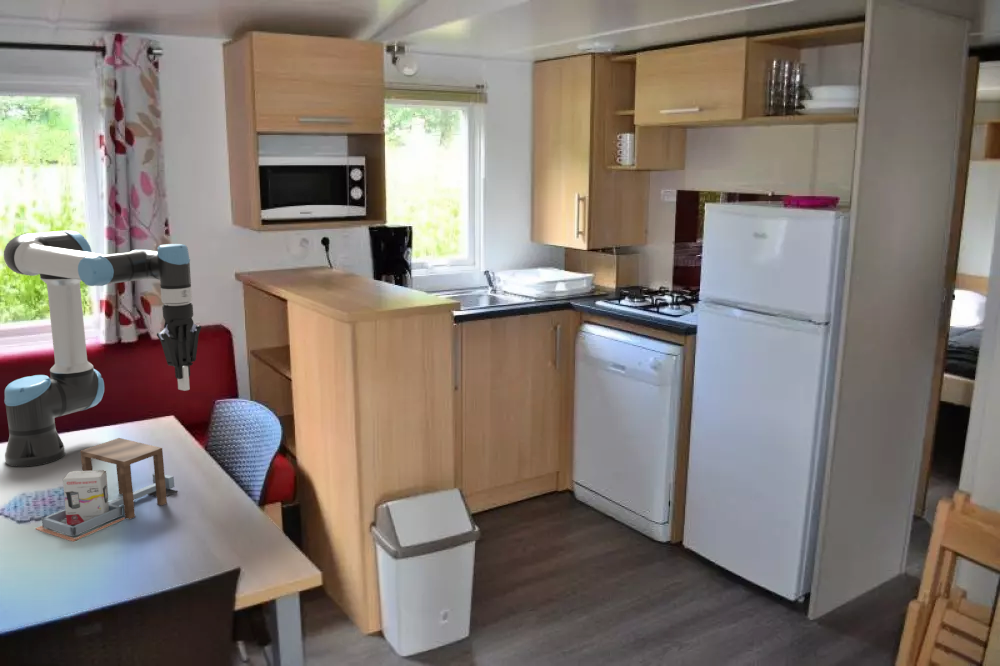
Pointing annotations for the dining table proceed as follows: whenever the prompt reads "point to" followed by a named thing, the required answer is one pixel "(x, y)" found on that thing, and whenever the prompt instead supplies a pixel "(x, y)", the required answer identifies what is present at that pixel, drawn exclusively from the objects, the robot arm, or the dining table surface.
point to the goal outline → (76, 537)
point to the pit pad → (168, 492)
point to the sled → (113, 513)
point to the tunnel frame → (127, 466)
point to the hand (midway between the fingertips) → (184, 389)
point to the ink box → (85, 495)
